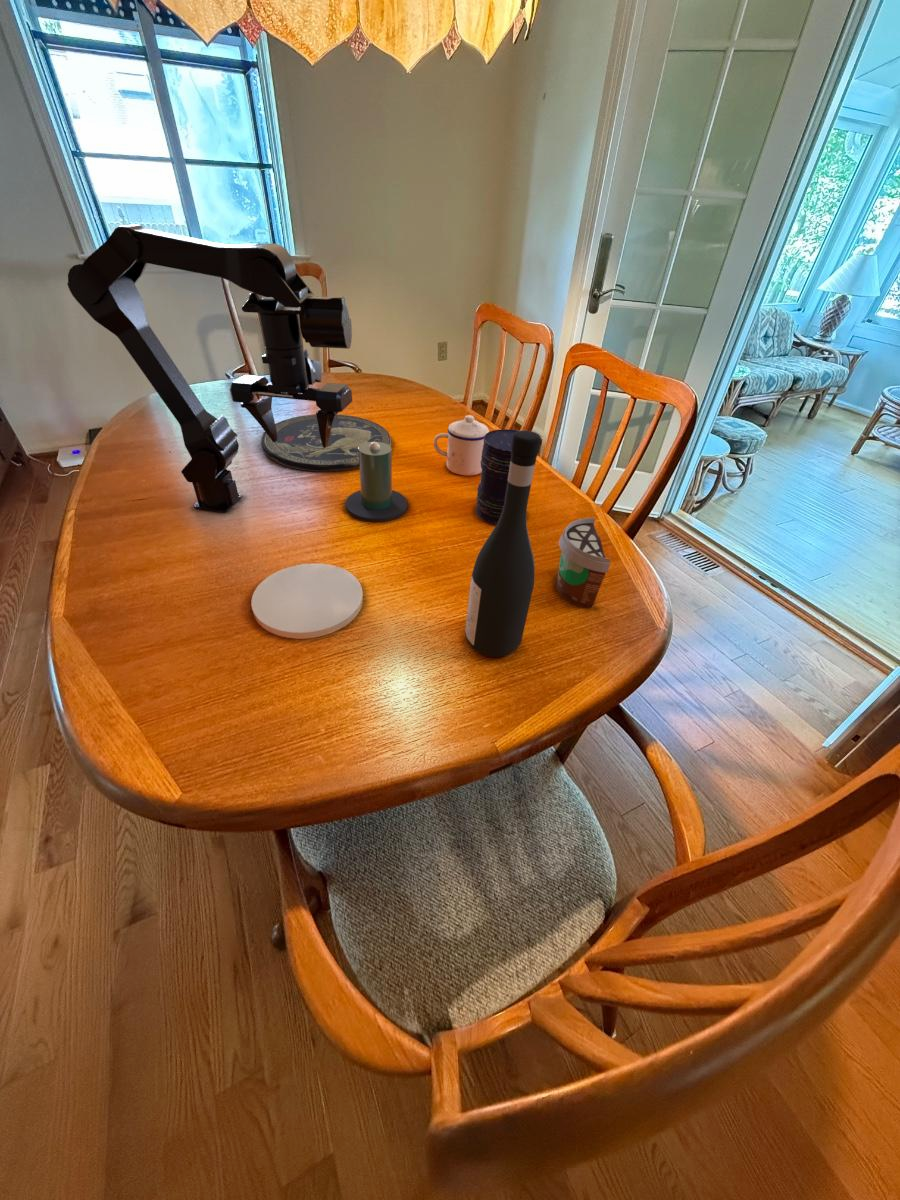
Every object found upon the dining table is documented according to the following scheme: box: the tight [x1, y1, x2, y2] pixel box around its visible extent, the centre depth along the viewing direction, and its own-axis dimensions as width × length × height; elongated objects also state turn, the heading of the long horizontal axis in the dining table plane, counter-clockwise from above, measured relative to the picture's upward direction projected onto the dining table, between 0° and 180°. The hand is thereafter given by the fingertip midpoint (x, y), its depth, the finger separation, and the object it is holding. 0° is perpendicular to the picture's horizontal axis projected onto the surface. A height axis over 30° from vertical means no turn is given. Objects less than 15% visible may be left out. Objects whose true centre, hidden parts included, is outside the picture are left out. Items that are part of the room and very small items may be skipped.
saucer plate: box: [250, 562, 364, 640], centre depth 74 cm, size 16×16×1 cm
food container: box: [555, 517, 612, 609], centre depth 78 cm, size 12×6×10 cm, turn 178°
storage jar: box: [475, 428, 518, 526], centre depth 93 cm, size 10×10×15 cm
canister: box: [358, 442, 393, 510], centre depth 93 cm, size 6×6×12 cm
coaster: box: [344, 489, 409, 523], centre depth 97 cm, size 12×12×1 cm
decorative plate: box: [260, 413, 392, 473], centre depth 117 cm, size 30×2×30 cm
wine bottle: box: [464, 429, 542, 658], centre depth 61 cm, size 8×8×30 cm
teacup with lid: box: [433, 414, 490, 477], centre depth 109 cm, size 12×9×12 cm
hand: (300, 444), depth 86 cm, fingers open, 9 cm apart
